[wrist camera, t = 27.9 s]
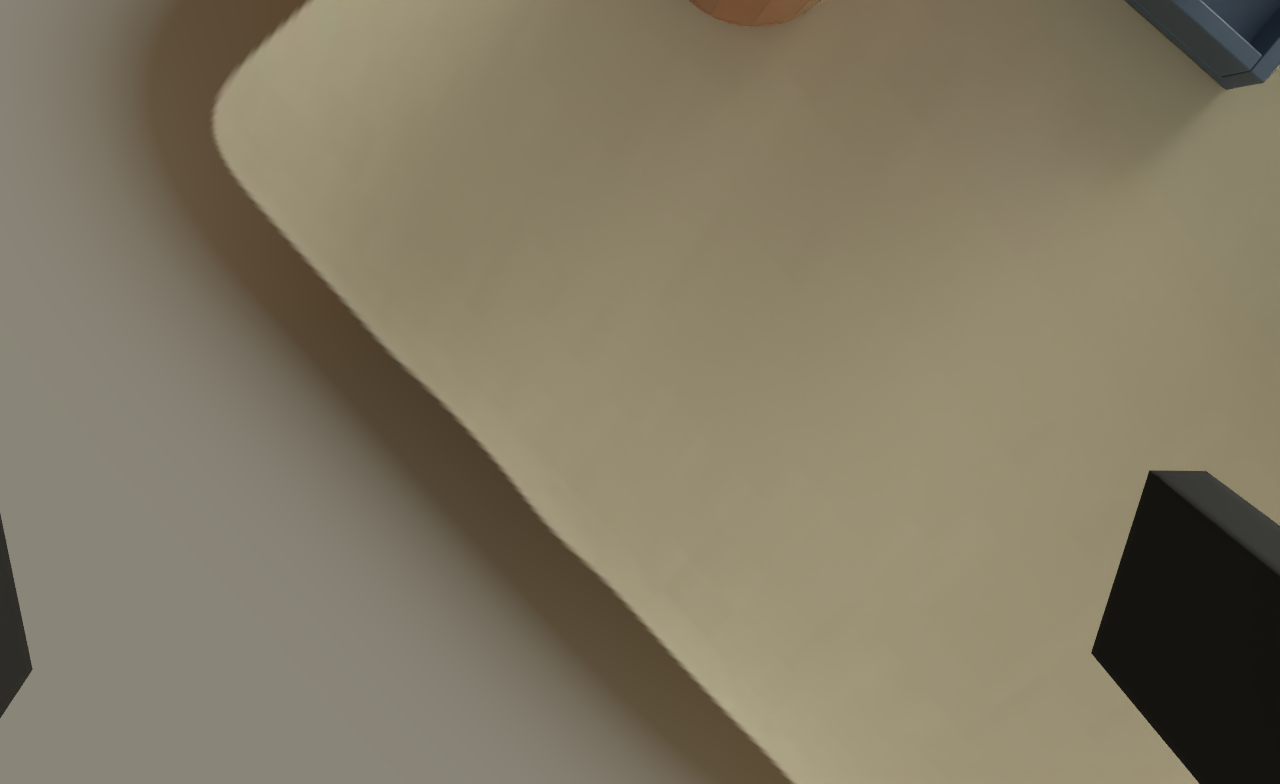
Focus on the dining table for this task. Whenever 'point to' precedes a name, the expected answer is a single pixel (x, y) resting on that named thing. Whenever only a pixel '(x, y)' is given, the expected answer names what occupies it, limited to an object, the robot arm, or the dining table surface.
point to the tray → (1221, 35)
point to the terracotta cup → (755, 10)
